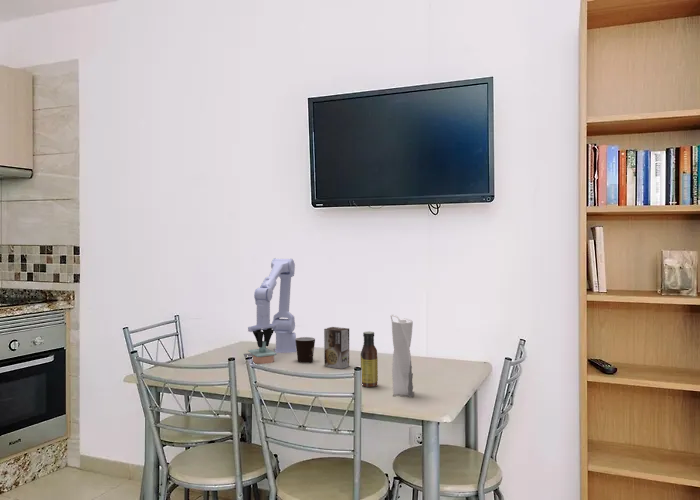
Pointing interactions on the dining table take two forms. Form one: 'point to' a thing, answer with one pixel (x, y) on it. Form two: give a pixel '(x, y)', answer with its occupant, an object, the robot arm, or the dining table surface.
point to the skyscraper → (402, 358)
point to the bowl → (263, 359)
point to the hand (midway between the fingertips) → (263, 346)
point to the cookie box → (336, 347)
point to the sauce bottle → (369, 361)
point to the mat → (248, 355)
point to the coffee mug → (305, 349)
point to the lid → (262, 351)
